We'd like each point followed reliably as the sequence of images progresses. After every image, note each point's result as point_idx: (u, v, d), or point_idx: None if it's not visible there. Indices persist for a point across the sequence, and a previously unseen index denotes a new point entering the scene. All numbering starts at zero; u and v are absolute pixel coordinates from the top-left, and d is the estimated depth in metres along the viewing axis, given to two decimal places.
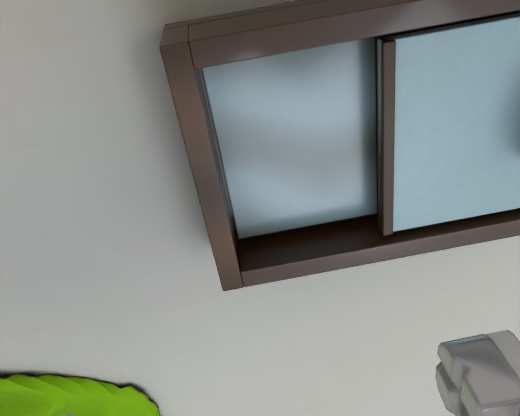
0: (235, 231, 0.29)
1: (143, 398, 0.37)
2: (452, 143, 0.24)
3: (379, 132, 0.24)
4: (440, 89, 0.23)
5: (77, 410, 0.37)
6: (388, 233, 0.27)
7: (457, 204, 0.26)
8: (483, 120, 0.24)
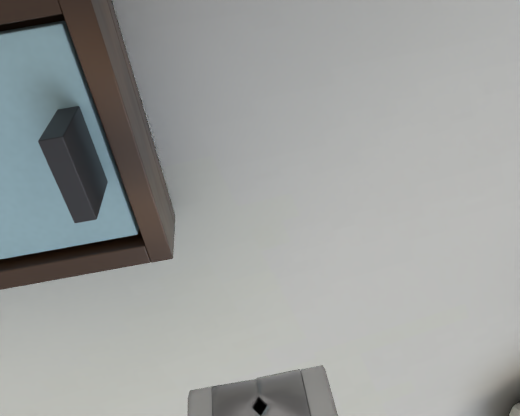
0: None
1: None
2: None
3: None
4: None
5: None
6: None
7: (41, 234, 0.24)
8: (17, 146, 0.22)
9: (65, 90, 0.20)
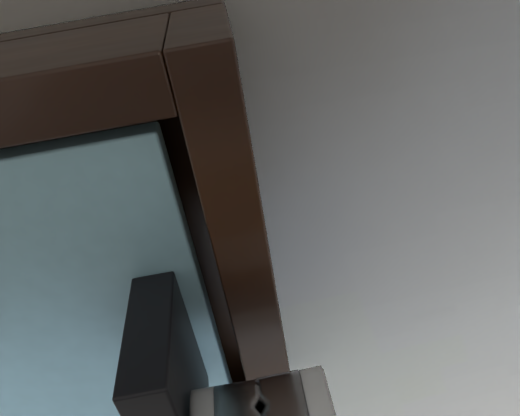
0: None
1: None
2: (10, 372, 0.12)
3: None
4: None
5: None
6: None
7: None
8: (54, 336, 0.12)
9: (150, 247, 0.11)
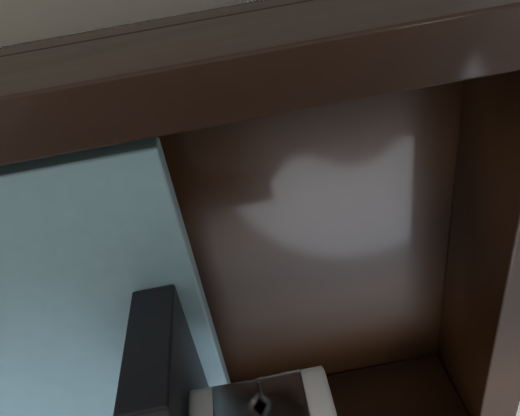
0: None
1: None
2: (11, 385, 0.12)
3: None
4: None
5: None
6: None
7: None
8: (54, 349, 0.12)
9: (151, 261, 0.11)
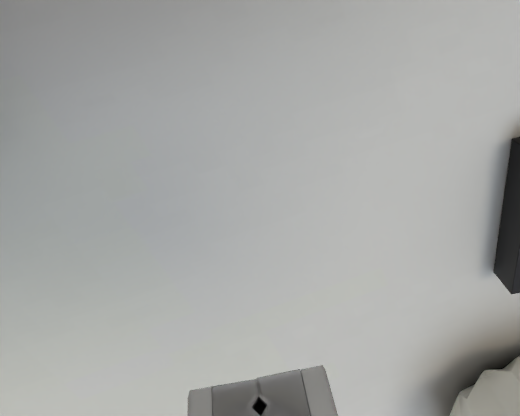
0: None
1: None
2: None
3: None
4: None
5: None
6: None
7: None
8: None
9: None
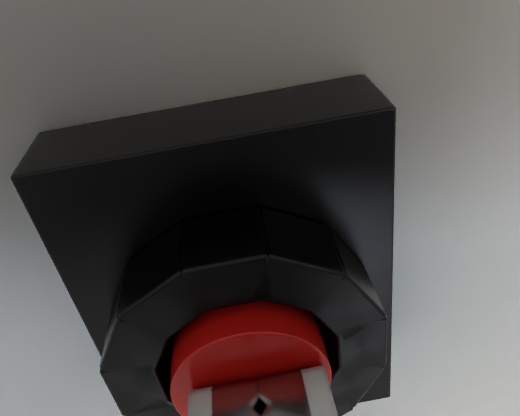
0: None
1: None
2: None
3: None
4: None
5: None
6: None
7: None
8: None
9: None
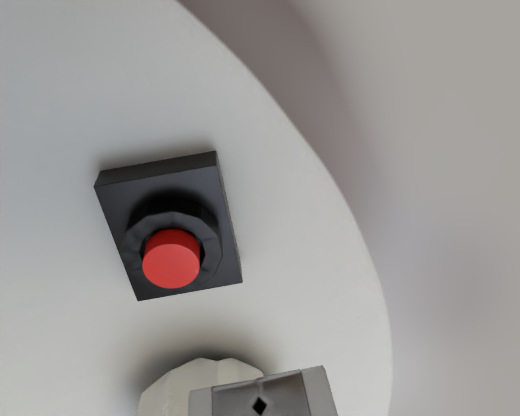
0: None
1: None
2: None
3: None
4: None
5: None
6: None
7: None
8: None
9: None
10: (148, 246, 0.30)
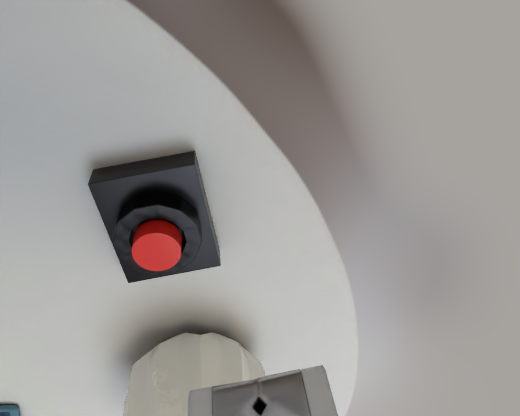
0: None
1: None
2: None
3: None
4: None
5: None
6: None
7: None
8: None
9: None
10: (136, 235, 0.35)
